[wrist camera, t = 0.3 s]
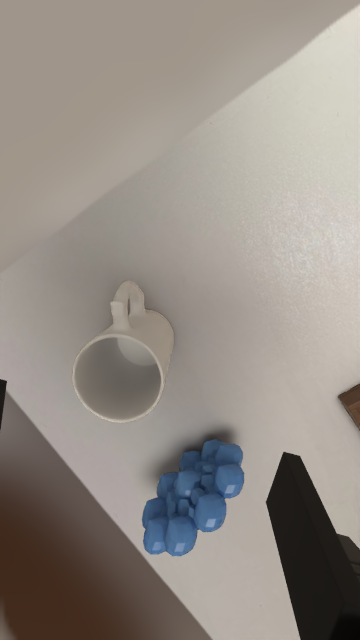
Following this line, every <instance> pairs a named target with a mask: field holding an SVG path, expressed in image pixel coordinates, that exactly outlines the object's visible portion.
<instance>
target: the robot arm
mask: <svg viewBox="0 0 360 640" xmlns="http://www.w3.org/2000/svg"><path fill="white" fill-rule="evenodd" d="M6 384H7V381H5V380H1V379H0V429H1V421H2V414H3V406H4V399H5V391H6ZM266 504H267V508H268V512H269V516H270V520H271V524H272V528H273V532H274V536H275V540H276V544H277V548H278V552H279V556H280V560H281V564H282V568H283V572H284V575H285V579H286V583H287V587H288V591H289V595H290V599H291V603H292V607H293V611H294V615H295V619H296V623H297V627H298V631H299V635H300V639H301V640H360V549H359V548H358V547H357V546H356V545H355V543H354V542H353V541H352V540H351V539H350V538H349V537H347V536H344V535H340V534H337V533H336V531H335V529H334V527H333V525H332V523H331V521H330V518H329V516H328V514H327V512H326V510H325V508H324V506H323V504H322V502H321V499H320V497H319V495H318V493H317V491H316V489H315V487H314V485H313V483H312V480H311V478H310V476H309V474H308V472H307V470H306V468H305V466H304V464H303V461H302V459H301V457H300V456H298V455H294V454H290V453H286V452H283V455H282V458H281V461H280V463H279V466H278V469H277V472H276V475H275V478H274V481H273V483H272V486H271V489H270V492H269V495H268V498H267V501H266Z"/></svg>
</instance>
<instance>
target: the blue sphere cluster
mask: <svg viewBox="0 0 360 640" xmlns="http://www.w3.org/2000/svg"><path fill="white" fill-rule="evenodd" d="M242 459H243V453H242V450H241V448H240V446H238V445H236V444H229V443H228V444H225V443H224V442H222V441H221V440H210V441H206V442H205V443H204V445H203V448H202V452H201V453H200V452H199V451H188V452H185V453H183V455H182V457H181V460H180V464H179V471H180V472H179V474H178V473H177V472H169V473H166V474H163V475H161V477H160V480H159V483H158V486H157V495H158V497H157V498H154V499H151V500H149V501H147V502H146V505H145V508H144V511H143V517H142V522H143V527H144V528H145V529H146V530H145V533H144V540H143V543H144V547H145V550H146V551H147V552H148V553H150V554H160V553H163V552H165V551H167V552H168V553H169V554H170V555H172V556H182V555H184V554H186V553H188V552H189V551H191V550H192V549H193V547H194V545H195V542H196V538H197V530H199V529H200V530H201V531H202V532H212V531H215V530H217V529H219V528H220V527H221V526H222V524H223V522H224V519H225V516H226V503H225V500H224V499H225V498H232V497H235V496H237V495H238V494H239V493H240V491H241V490H242V487H243V483H244V472H243V470H242V468H241V467H240V466H241V463H242Z"/></svg>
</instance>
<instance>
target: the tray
mask: <svg viewBox="0 0 360 640" xmlns="http://www.w3.org/2000/svg"><path fill="white" fill-rule="evenodd" d="M338 397H339V399H340V401H341V402H342V404H343V405H344V407H345V408H346V410H347V411H348V413H349V414H350V416H351V418H352V419H353V421H354V422H355V424H356V425H357V427H358V428H359V430H360V384H359V385H357V386H355V387H354V388H352V389H350V390H348V391H347V392H345V393H343V394H341V395H339V396H338Z"/></svg>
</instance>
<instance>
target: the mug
mask: <svg viewBox="0 0 360 640" xmlns="http://www.w3.org/2000/svg"><path fill="white" fill-rule="evenodd" d="M128 299H129V300H130V314H128ZM110 306H111V313H112V316H113V325H112V326H111V327H109V328H108V329H106V330H105V331H104V332H102V333H101V334H99V335H98V336H97V337H95V338H94V339H93V340H91V341H90V342H88V343H87V344H86V345H85V346H84V347H83V348H82V349H81V350H80V352H79V353H78V355H77V357H76V359H75V362H74V365H73V370H72V381H73V386H74V389H75V392H76V394H77V396H78V398H79V400H80V401H81V403H82V404H83V405H84V406H85V407H86V408H87V409H88V410H89V411H90V412H91V413H93V414H94V415H96V416H98V417H99V418H102V419H104V420H107V421H111V422H116V423H125V422H131V421H135V420H138V419H140V418H142V417H144V416H145V415H147V414H148V413H149V412H150V411H151V410H152V409H153V408H154V407H155V406H156V405H157V403H158V401H159V399H160V397H161V395H162V392H163V388H164V385H165V381H166V377H167V372H168V368H169V363H170V359H171V355H172V351H173V346H174V332H173V329H172V327H171V325H170V323H169V322H168V320H167V319H166V318H165V317H164V316H162V315H161V314H159V313H158V312H155V311H152V310H147V309H145V306H144V294H143V292H142V291H141V290H140V288H139V287H138V286H137V285H136V284H135V283H134V282H132V281H125V282H123V283H122V284H121V285H120V287H119V288H118V290H117V292H116V295H115V297H114V299H113V301H112V302H111V303H110Z"/></svg>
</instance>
